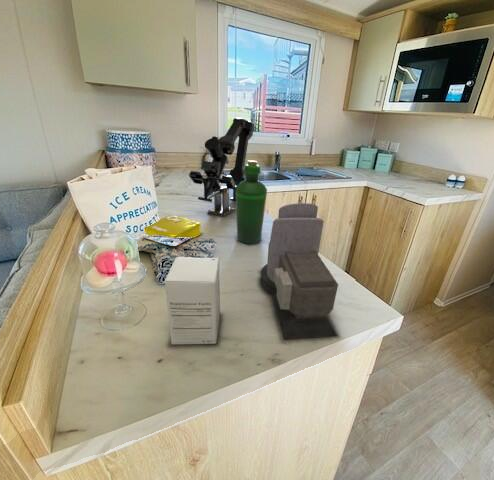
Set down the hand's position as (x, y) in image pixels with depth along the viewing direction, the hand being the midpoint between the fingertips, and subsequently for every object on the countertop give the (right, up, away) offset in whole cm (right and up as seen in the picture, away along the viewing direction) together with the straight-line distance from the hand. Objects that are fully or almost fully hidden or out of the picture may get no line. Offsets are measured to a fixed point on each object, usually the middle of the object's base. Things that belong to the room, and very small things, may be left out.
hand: (205, 197), depth 110 cm
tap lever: (+2, +1, +7) cm, 7 cm away
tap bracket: (+4, -4, +15) cm, 16 cm away
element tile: (-9, -16, -12) cm, 22 cm away
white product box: (+11, -36, -52) cm, 65 cm away
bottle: (+19, -17, -10) cm, 27 cm away
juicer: (+33, -32, -39) cm, 60 cm away
